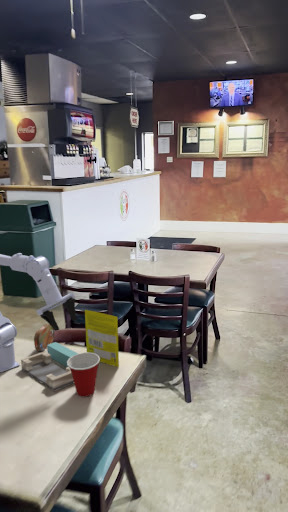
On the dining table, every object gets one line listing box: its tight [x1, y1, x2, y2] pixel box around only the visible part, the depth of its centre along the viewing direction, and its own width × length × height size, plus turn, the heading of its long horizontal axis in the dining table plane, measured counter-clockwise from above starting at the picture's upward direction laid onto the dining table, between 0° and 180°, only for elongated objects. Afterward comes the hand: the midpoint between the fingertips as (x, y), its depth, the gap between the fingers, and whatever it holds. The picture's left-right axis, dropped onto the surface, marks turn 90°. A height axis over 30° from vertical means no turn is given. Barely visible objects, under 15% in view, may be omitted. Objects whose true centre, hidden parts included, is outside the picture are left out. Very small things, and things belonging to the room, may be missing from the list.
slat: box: [46, 341, 79, 368], centre depth 169 cm, size 16×4×5 cm, turn 44°
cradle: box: [20, 350, 74, 392], centre depth 158 cm, size 22×10×4 cm, turn 43°
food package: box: [84, 309, 120, 368], centre depth 165 cm, size 15×1×20 cm, turn 58°
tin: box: [33, 323, 55, 352], centre depth 182 cm, size 15×3×8 cm, turn 168°
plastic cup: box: [67, 351, 100, 398], centre depth 145 cm, size 11×11×12 cm
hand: (66, 325), depth 152 cm, fingers open, 7 cm apart
